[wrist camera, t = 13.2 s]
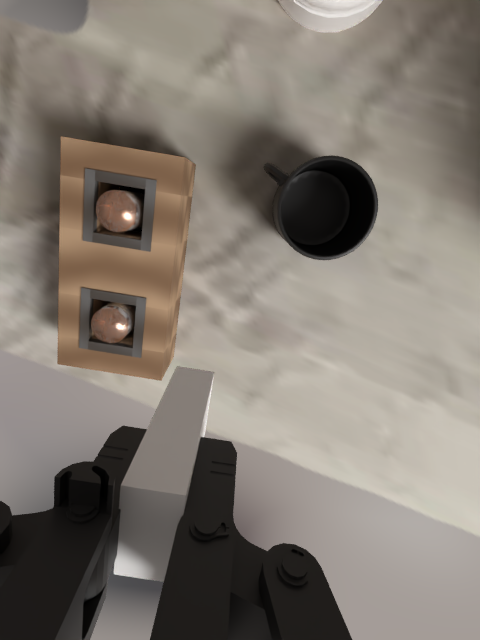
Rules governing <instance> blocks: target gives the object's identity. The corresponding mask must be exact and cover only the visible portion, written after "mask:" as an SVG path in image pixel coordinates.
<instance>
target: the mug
mask: <svg viewBox="0 0 480 640" xmlns="http://www.w3.org/2000/svg"><path fill="white" fill-rule="evenodd" d="M264 170H265V171H266V173H267V174H268V175H269V176H270V177H272V178H273V179H274V180H275V181H276V182H277V184H278V185H279V188H278V190H277V192H276V194H275V197H274V201H273V219H274V223H275V226H276V228H277V230H278V232H279V233H280V235H281V236H282V237H283V238H284V239H285V240H286V241H287V243H288V244H289V245H290V246H291V247H292V248H293V249H294V250H296V251H297V252H299V253H300V254H302V255H304V256H306V257H309V258H312V259H318V260H331V259H336V258H340V257H342V256H345V255H347V254H349V253H350V252H352V251H354V250H355V249H356V248H358V247H359V246H360V245H361V244H362V243H363V242H364V241H365V239H366V238H367V237H368V235H369V234H370V232H371V230H372V228H373V226H374V223H375V220H376V217H377V212H378V198H377V192H376V189H375V186H374V183H373V181H372V179H371V178H370V176H369V175H368V173H367V172H366V171H365V170H364V169H363V168H362V167H361V166H360V165H358V164H357V163H355V162H354V161H352V160H349V159H347V158H344V157H339V156H322V157H318V158H314V159H312V160H310V161H307V162H306V163H304V164H302V165H301V166H299V167H298V168H297V169H296V170H294V171H293V172H292V173H291V174H290V175H288V174H287V173H284V172H283V171H282V170H281V169H279V168H278V167H276V166H275V165H273V164H271V163H266V164H265V165H264Z"/></svg>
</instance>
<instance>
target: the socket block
mask: <svg viewBox="0 0 480 640" xmlns="http://www.w3.org/2000/svg"><path fill="white" fill-rule="evenodd" d="M195 166H196V165H195V164H194V163H192V162H191V161H189V160H188V159H187V158H185V157H180V156H174V155H168V154H162V153H156V152H150V151H144V150H138V149H132V148H127V147H121V146H115V145H109V144H103V143H97V142H91V141H85V140H79V139H73V138H68V137H62V136H61V162H60V230H59V298H58V364H61V365H67V366H73V367H79V368H86V369H92V370H98V371H104V372H111V373H117V374H123V375H129V376H136V377H142V378H148V379H154V380H162V378H163V376H164V374H165V372H166V370H167V368H168V367H169V365H170V363H171V361H172V359H173V357H174V348H175V340H176V331H177V322H178V314H179V305H180V296H181V288H182V279H183V270H184V262H185V253H186V244H187V236H188V227H189V218H190V210H191V201H192V192H193V184H194V175H195ZM120 185H122V186H128V187H134V188H140V189H145V200H144V212H143V225H142V232H137V231H131V230H128V231H124V232H113V231H110V230H108V229H106V228H105V227H104V226H103V225H102V224H101V223H100V221H99V220H98V217H97V214H96V204H97V201H98V199H99V197H100V196H101V195H102V194H103V193H105V192H107V191H109V190H120ZM110 302H116V303H122V304H128V305H134V306H136V313H135V326H134V328H133V329H132V330H131V331H130V332H129V333H128V334H127V335H126V336H125V337H124V338H123V339H122V340H121V341H119V342H116V343H106V342H103V341H101V340H100V339H99V338H97V337H96V336H95V334H94V333H93V331H92V328H91V320H92V317H93V315H94V314H95V313H96V312H97V311H98V310H100V309H101V308H102V307H104V306H105V305H107V304H108V303H110Z"/></svg>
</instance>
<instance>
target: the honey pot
mask: <svg viewBox="0 0 480 640" xmlns="http://www.w3.org/2000/svg"><path fill="white" fill-rule="evenodd" d="M278 1H279V3H280V5H281V7H282V8H283V9H284V10H285V11H286V13H287V14H288V15H289V16H290V17H291V18H292V19H293V20H294V21H296V22H297V23H299V24H300V25H302V26H303V27H305V28H307V29H311V30H314V31H318V32H322V33H323V32H339V31H342V30H345V29H348V28H351V27H354V26H356V25H357V24H358V23H360V22H361V21H363V20H364V19H366V18H367V17H369V16H370V15H371V14H372V12H373V11H374V10H375V9H376V8H377V7H378V6H379V5H380V3H381V2H382V1H383V0H278Z"/></svg>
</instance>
